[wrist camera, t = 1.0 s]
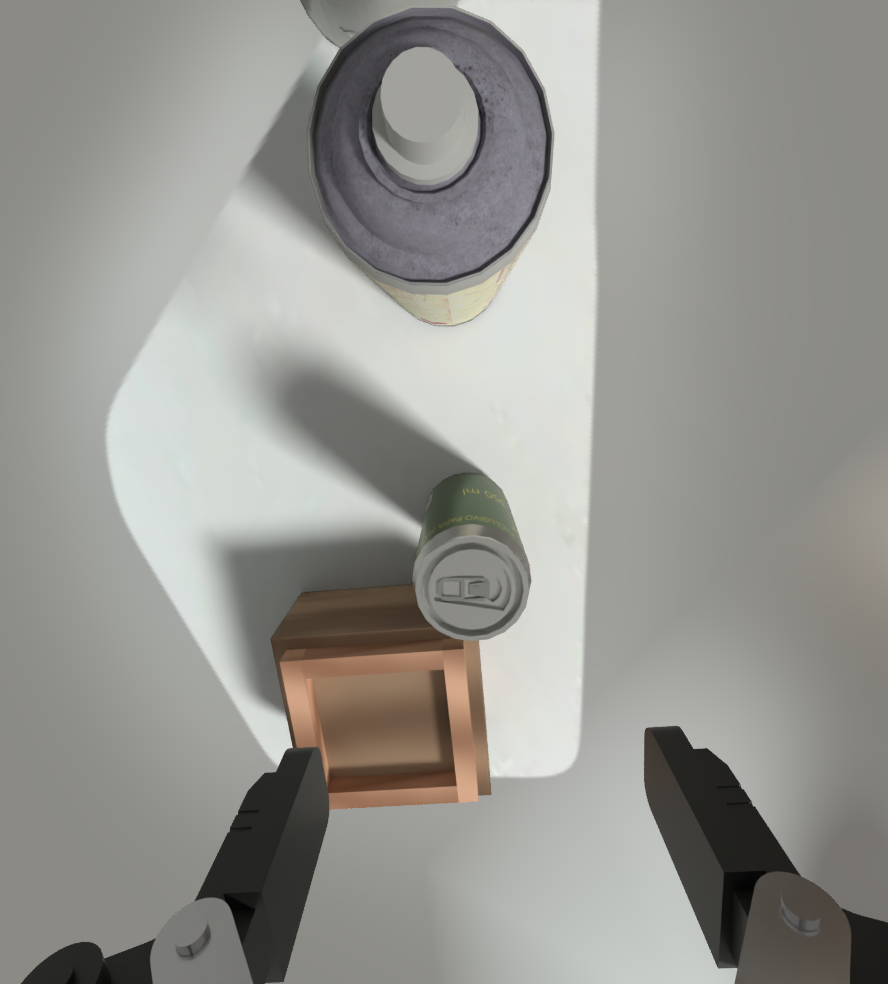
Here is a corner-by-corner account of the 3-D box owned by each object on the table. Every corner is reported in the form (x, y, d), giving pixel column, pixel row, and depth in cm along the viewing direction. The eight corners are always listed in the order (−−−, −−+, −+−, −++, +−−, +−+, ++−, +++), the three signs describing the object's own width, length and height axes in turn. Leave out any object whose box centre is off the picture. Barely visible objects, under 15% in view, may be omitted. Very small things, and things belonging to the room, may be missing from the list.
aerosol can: (397, 189, 29) (272, -151, 9) (515, 213, 29) (629, -77, 10) (379, 315, 31) (243, 243, 11) (490, 336, 31) (546, 300, 11)
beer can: (426, 547, 34) (411, 645, 23) (425, 469, 33) (408, 531, 21) (506, 548, 34) (532, 646, 23) (509, 470, 33) (537, 532, 21)
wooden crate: (301, 592, 35) (263, 650, 28) (473, 579, 35) (477, 635, 28) (327, 737, 38) (299, 821, 31) (486, 727, 38) (492, 811, 31)
